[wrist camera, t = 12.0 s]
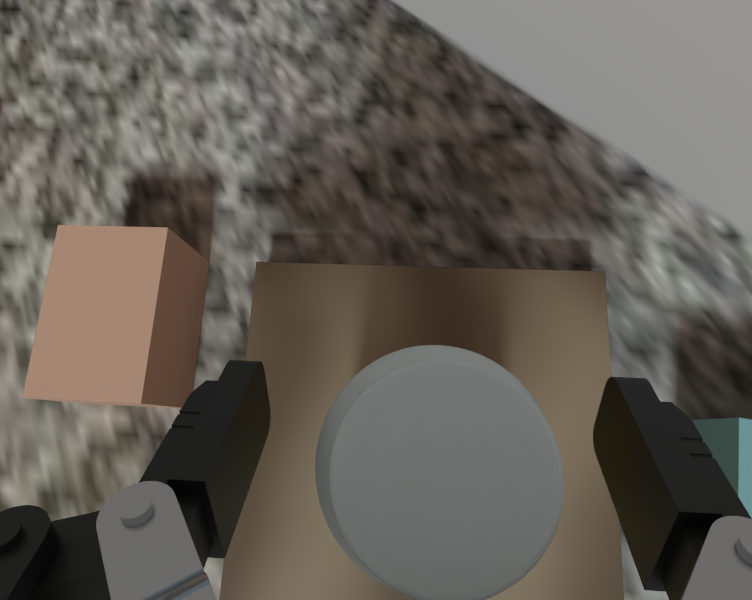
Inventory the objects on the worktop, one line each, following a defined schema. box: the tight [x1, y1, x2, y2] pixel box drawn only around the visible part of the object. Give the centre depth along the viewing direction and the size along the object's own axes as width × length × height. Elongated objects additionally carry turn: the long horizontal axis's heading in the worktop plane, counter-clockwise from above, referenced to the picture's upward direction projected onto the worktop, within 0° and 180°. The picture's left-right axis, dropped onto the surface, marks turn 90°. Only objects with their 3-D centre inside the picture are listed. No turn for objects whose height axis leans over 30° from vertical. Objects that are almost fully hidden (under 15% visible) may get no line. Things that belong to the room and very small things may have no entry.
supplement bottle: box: [315, 345, 564, 600], centre depth 13 cm, size 5×5×10 cm
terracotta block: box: [22, 225, 209, 408], centre depth 20 cm, size 6×4×4 cm, turn 177°
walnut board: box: [220, 262, 624, 600], centre depth 19 cm, size 13×13×2 cm
